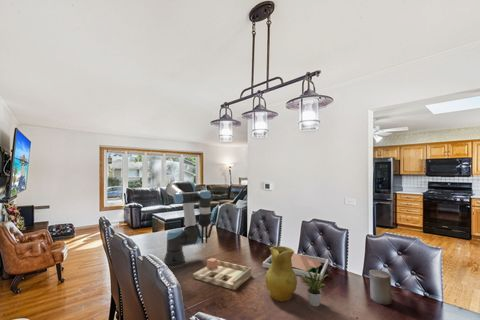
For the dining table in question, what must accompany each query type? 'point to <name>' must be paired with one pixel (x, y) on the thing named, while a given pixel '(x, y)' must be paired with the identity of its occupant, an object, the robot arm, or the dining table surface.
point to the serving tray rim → (299, 272)
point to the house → (304, 262)
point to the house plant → (314, 288)
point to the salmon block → (211, 263)
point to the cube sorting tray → (224, 274)
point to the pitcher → (281, 274)
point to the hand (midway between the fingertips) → (204, 247)
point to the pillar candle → (380, 286)
